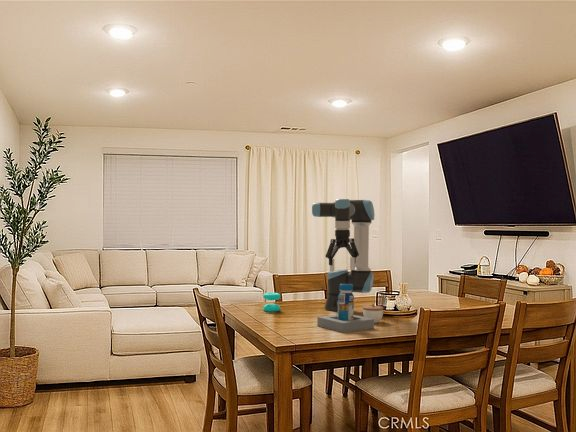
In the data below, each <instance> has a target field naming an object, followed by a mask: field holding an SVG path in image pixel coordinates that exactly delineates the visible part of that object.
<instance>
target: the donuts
mask: <svg viewBox="0 0 576 432" xmlns="http://www.w3.org/2000/svg"><path fill="white" fill-rule="evenodd" d="M262 298H263V299H265V300H267V301H277V300H279V299H280V298H281V294H280V293H278V292H265V293H263V295H262ZM262 310H263V311H264V312H267V311H268V312H270V313H271V312H272V313H274V312H275V313H276V312H279V311H281V307H280V305H279V304H276V303H268V304H265V305H263V308H262Z"/></svg>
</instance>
